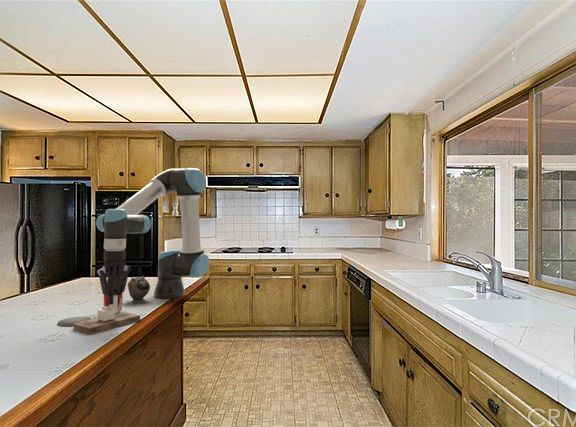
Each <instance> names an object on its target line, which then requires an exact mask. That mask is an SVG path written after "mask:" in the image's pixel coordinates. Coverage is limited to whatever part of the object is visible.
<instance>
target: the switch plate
mask: <svg viewBox="0 0 576 427" xmlns="http://www.w3.org/2000/svg"><path fill="white" fill-rule="evenodd" d="M139 321H141V315H140V314H136V313H132V312H127V311H120V312H119V313H116V314H115V319H111V320H107V321H102V320H98V317H96V318H92V319H91V320H86V321H82V322H78V323H74V324H73V326H72V327H73V328H72V329H73V330H75V331H78V332H81V333H85V334H87V335H91V334H96V333H99V332H103V331H107V330H110V329H114V328H115V329H116V328H118V327H121V326H125V325H129V324H133V323H136V322H139Z"/></svg>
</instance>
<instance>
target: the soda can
mask: <svg viewBox="0 0 576 427" xmlns="http://www.w3.org/2000/svg"><path fill="white" fill-rule="evenodd" d="M123 293H124V292H122V294H121V295H119V303H118V304H117V313H120V312H122V311H123ZM104 306H105V307H109V304H108V296H107V295H104V294H103V307H104ZM115 314H116V313H115Z"/></svg>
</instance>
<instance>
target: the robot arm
mask: <svg viewBox="0 0 576 427" xmlns="http://www.w3.org/2000/svg"><path fill="white" fill-rule="evenodd" d="M206 184H207V183H206V177H205V175H204V173H203V172H202V171H201V170H200V169H198V168H197V167H195V168H194V167H184V168H182V167H181V168H169V169H166V170H165V171H163V172H161V173H159V174H157V175H156V176H154V177H153V178H151V179H150V180H149V182H148V184H147V185H146V186H144V187H143V188H142V189H141V190H139V191H138V192H136V193H135V194H134V195H132V196H131V197H129V199H127V200H126V201H124V202H123V203H122V204H121V205H119V206H118V207H116V208H108V209H106V210H105V211H104V213H103V214H100V215H99V216H98V217H97V218H96V220H95V221H96V222H95V225H96V228H97V229H98V230H99V231H100V232H103V234H104V236H103V238H104V240H103V249H104V251H103V264H102V267H101V268H100V269H97V270H96V274H97V275H98V278H99V283H100V287H101V291H102V292H101V293H102V295H103V296H104V295H107V296H108V304H109V307H110V308H112V309H115V313H117V304H118V303H119V295H121V294H122V292H123V293H124V292H125V291H126V287H127V286H126V285H127V284H128V278H129V273H130V272H131V270H132V267H131V266H127V264H126V261H125V260H126V257H127V256H126V255H127V251H126V250H125V249H126V248H127V234H145V233H148V232H149V230H150V229H151V227H152V222H151V218H150V217H149V216H148V215H146V214H145V215H144V214H140V213H141V212H143V210H145V209H146V208H147V207H149V206H150V205H152V204H153V202H154V201H156V200H157V199H159V198H160V197H164V196H165V195H167V194H169V193H170V194H171V193H176V197H177V198H178V199H179V203H180V219H181V220H180V221H181V239H182V247H181V249H176V250H175V249H174V250H165V251H161V252H159V253H158V259H157V283H156V285H155V288H154V291H153V297H154V298H157V299H175V298H181V297H184V296H185V295H186V290H185V288H184V284H183V280H182V279H183V277H188V278H189V277H190V278H193V279H194V278H202V277H203V276H205V274H206V273H207V271H208V269H209V266H210V257H208V255H207V254H205V250H204V248H203V247H202V246H201V233H200V232H201V229H200V210H199V199H200V197H201V196H202V192H203V191H204V190H205V187H206Z"/></svg>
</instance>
